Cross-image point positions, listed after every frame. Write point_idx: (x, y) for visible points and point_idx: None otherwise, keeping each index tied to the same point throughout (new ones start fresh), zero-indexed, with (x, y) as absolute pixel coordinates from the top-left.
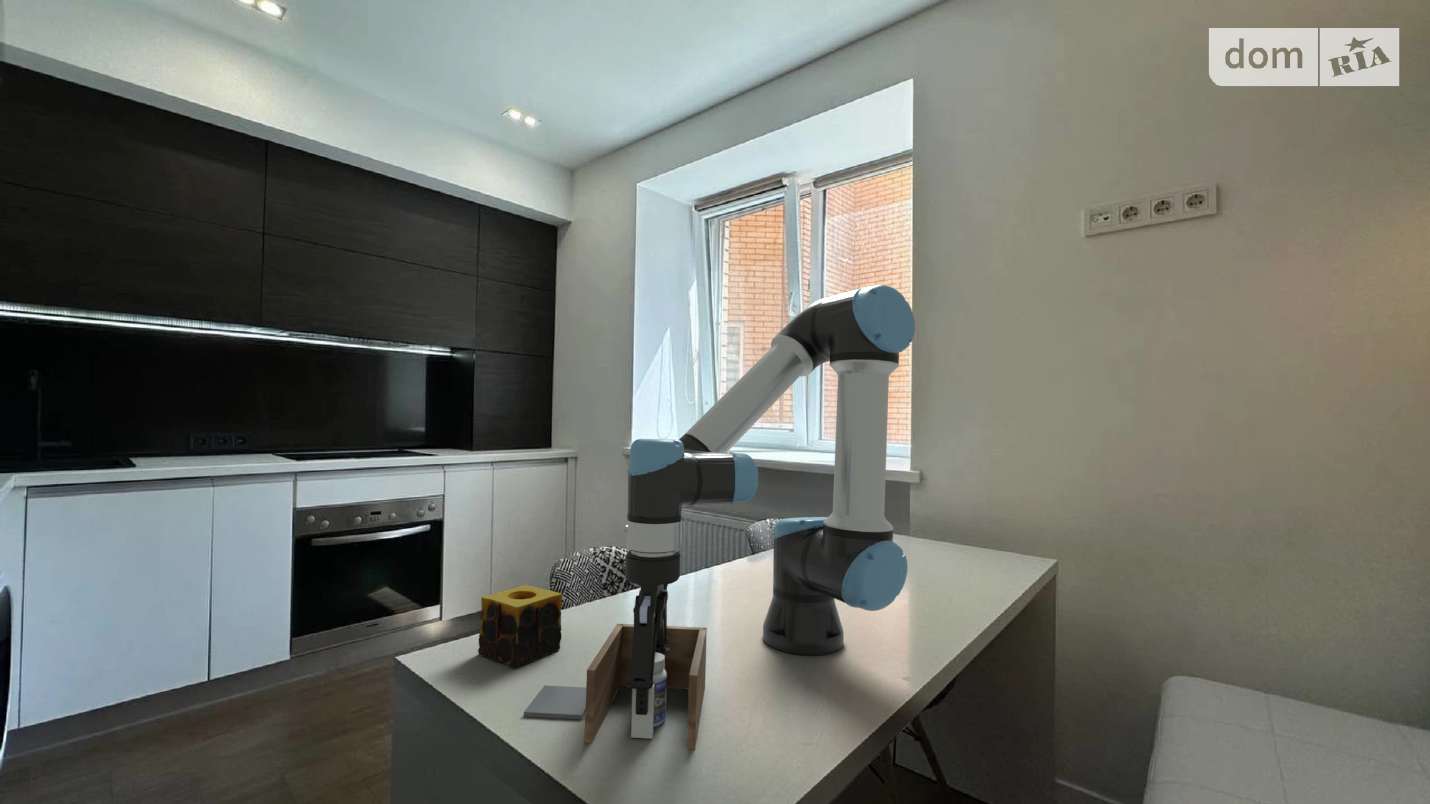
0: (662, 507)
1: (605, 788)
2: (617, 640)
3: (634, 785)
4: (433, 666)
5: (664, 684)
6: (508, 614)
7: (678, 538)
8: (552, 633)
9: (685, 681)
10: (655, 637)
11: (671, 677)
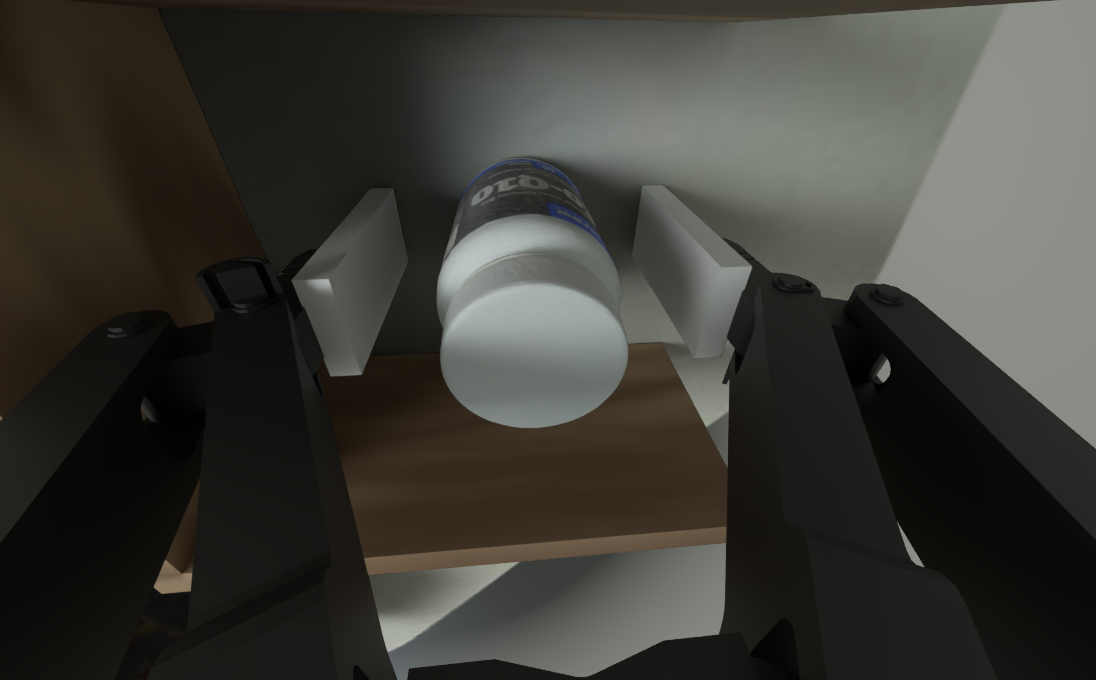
0: None
1: (867, 263)
2: None
3: (885, 192)
4: (387, 631)
5: (561, 211)
6: None
7: None
8: (170, 603)
9: (170, 99)
10: (879, 497)
11: (197, 186)
